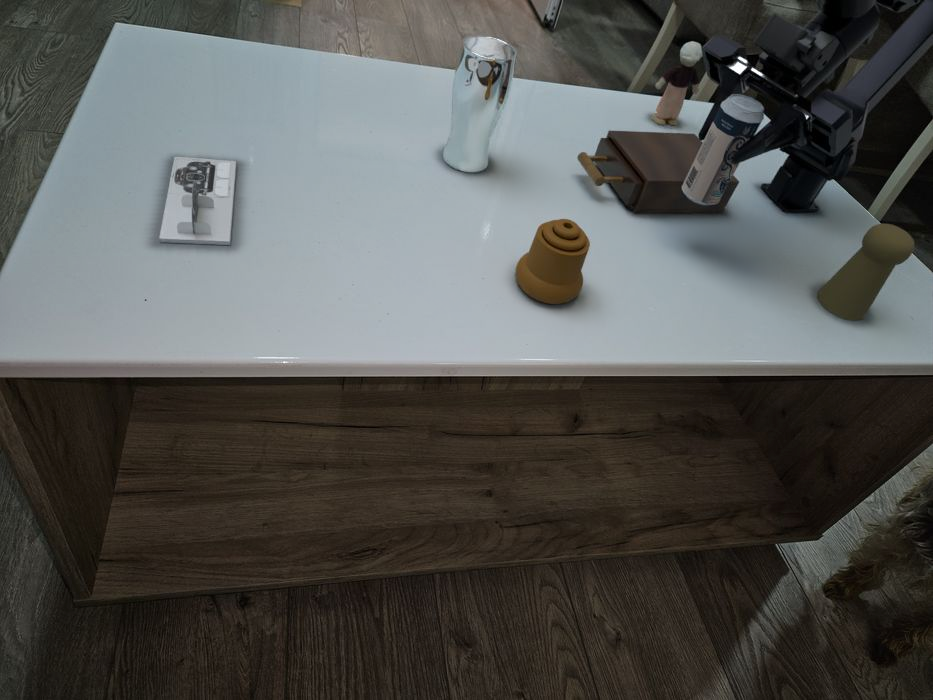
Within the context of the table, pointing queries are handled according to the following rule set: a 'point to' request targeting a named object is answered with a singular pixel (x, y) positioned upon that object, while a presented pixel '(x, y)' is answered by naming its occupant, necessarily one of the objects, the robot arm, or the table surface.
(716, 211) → the cabinet
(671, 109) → the grandmother figurine
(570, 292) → the ornamental finial
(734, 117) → the beer can
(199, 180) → the white flat box
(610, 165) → the drawer
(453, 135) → the beer glass
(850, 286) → the game pawn
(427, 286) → the table surface
